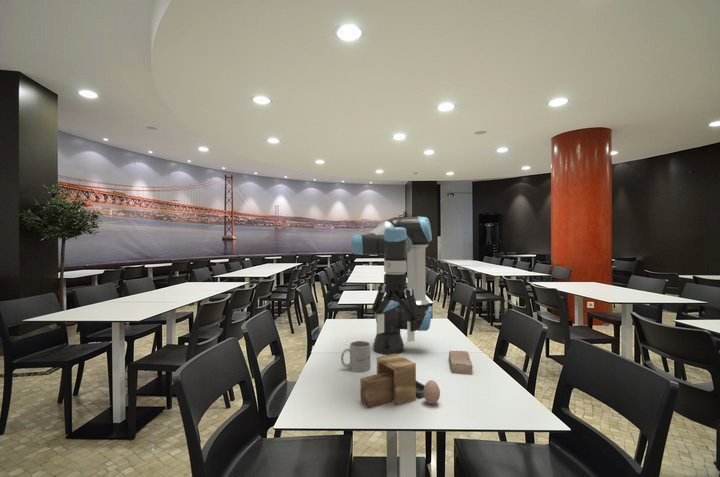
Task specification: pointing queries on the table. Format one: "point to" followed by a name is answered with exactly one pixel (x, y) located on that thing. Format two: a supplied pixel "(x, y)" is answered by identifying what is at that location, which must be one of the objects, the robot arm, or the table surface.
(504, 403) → the table surface
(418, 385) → the tray
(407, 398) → the tunnel
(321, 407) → the table surface
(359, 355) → the mug
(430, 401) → the egg
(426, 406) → the table surface
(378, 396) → the walnut block
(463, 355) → the brick
